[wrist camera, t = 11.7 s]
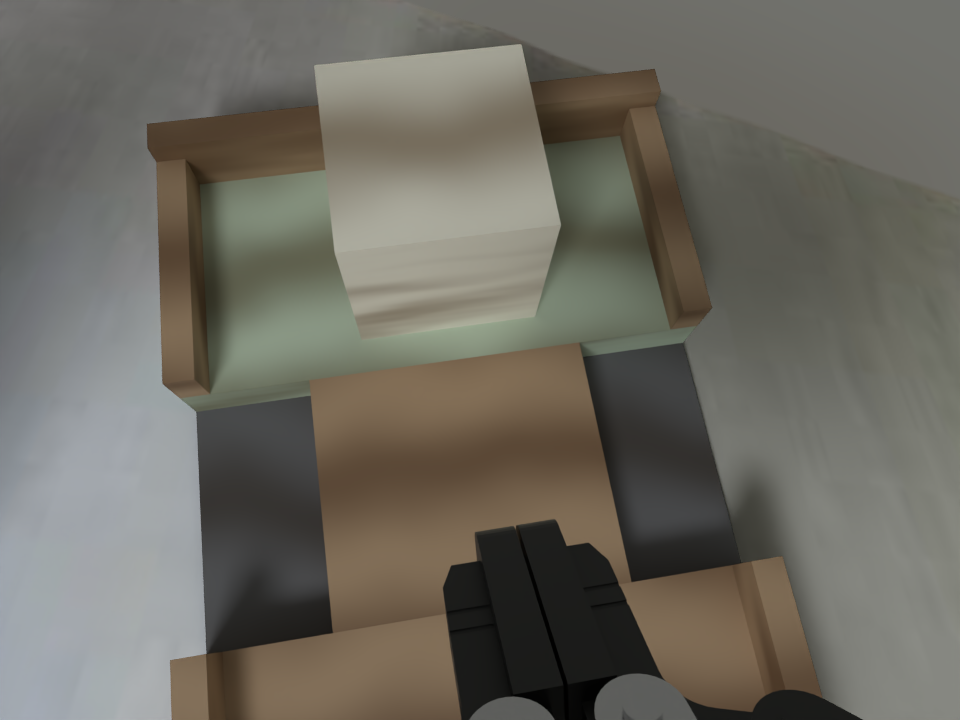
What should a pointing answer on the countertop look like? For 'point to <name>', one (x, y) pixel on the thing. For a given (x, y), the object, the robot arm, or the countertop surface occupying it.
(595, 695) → the robot arm
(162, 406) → the countertop surface
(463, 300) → the block
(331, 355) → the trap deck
